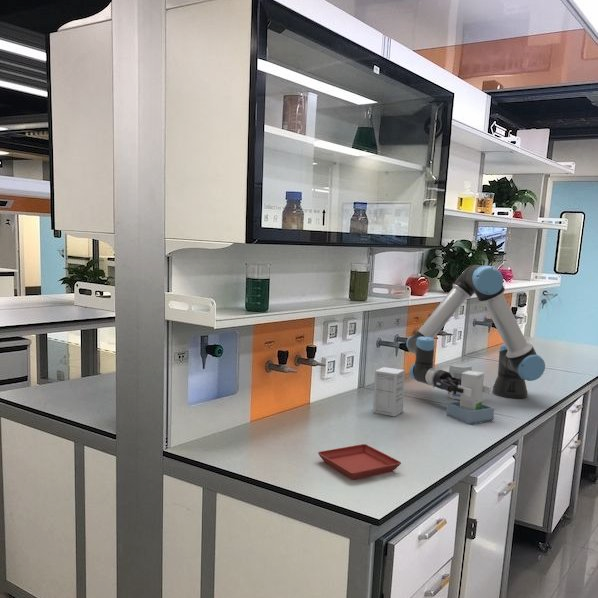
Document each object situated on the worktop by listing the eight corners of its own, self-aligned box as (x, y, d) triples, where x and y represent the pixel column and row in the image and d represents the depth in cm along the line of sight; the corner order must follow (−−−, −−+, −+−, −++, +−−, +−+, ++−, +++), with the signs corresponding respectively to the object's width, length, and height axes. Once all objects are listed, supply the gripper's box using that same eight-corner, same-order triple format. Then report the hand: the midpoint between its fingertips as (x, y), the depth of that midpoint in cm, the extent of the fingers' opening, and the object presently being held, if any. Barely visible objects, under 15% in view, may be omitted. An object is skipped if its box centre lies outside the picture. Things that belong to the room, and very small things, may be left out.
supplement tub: (474, 399, 255) (477, 366, 253) (459, 401, 249) (462, 368, 248) (457, 394, 263) (459, 362, 261) (442, 396, 257) (445, 363, 256)
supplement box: (403, 411, 231) (406, 369, 229) (395, 417, 223) (397, 373, 221) (381, 407, 235) (383, 366, 234) (372, 412, 227) (374, 370, 226)
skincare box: (474, 416, 220) (477, 375, 219) (457, 412, 224) (460, 372, 222) (482, 411, 227) (485, 372, 225) (465, 408, 231) (468, 369, 229)
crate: (469, 412, 234) (470, 399, 234) (493, 420, 223) (494, 408, 223) (446, 415, 228) (447, 402, 227) (470, 424, 217) (471, 411, 217)
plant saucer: (316, 461, 174) (316, 451, 174) (364, 453, 183) (364, 442, 183) (351, 484, 159) (352, 473, 158) (402, 473, 168) (402, 462, 168)
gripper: (458, 385, 246) (500, 398, 227) (418, 389, 235) (458, 404, 216) (459, 368, 245) (501, 380, 226) (419, 371, 234) (459, 384, 215)
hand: (480, 391), depth 221 cm, fingers open, 10 cm apart
